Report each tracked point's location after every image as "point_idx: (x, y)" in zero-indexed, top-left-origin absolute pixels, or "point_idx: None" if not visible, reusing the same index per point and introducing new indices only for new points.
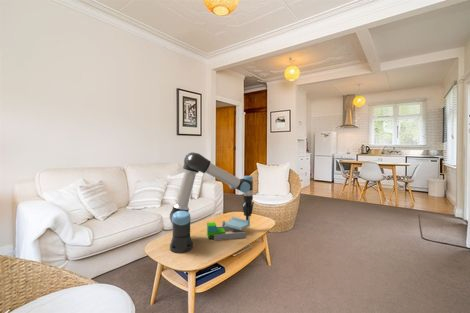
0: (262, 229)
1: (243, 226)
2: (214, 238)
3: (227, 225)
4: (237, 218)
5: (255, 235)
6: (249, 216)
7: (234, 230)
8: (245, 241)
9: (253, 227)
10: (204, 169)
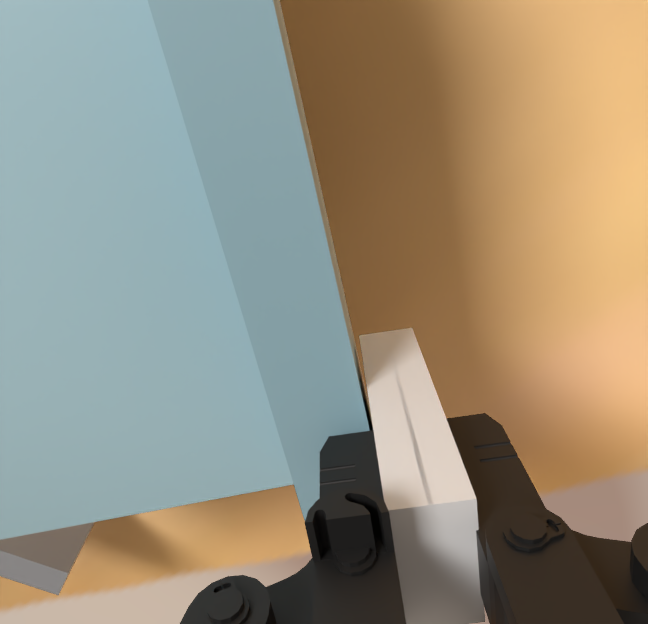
0: (627, 437)
1: (75, 525)
2: None
3: None
4: (199, 1)
5: (300, 539)
6: (447, 611)
7: None
8: (9, 595)
9: (604, 251)
10: None
